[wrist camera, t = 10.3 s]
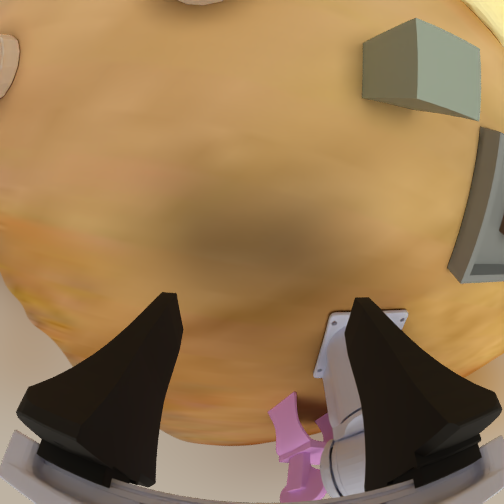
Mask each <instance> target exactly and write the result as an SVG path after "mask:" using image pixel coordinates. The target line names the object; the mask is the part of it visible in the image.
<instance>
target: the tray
mask: <svg viewBox="0 0 504 504" xmlns="http://www.w3.org/2000/svg"><path fill="white" fill-rule="evenodd" d="M503 215H504V134H503V133H501V132H498V131H495V130H491V129H487V128H484V127H480V136H479V144H478V151H477V158H476V164H475V170H474V175H473V180H472V185H471V190H470V194H469V198H468V202H467V206H466V210H465V214H464V218H463V221H462V225H461V228H460V232H459V235H458V238H457V241H456V244H455V247H454V250H453V253H452V256H451V259H450V261H449V264H448V267H447V268H448V269H449V270H450V272H451V273H452V274H453V275H454V276H455V277H456V279H457V280H458V281H459V282H460V283H481V282H498V281H504V235H503V234H502V233H501V232H500V231H499V228H500V225H501V222H502V218H503Z"/></svg>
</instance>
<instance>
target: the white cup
mask: <svg viewBox="0 0 504 504" xmlns="http://www.w3.org/2000/svg"><path fill="white" fill-rule="evenodd" d="M19 54H20V50H19V44H18V40H17V39H16V38H15V37H13V36H12V35H5V34H0V98H1V97H2V96H4V95H5V93H6V92H7V90H8V88H9V87H10V85H11V83H12V82H13V79H14V76H15V73H16V70H17V67H18V61H19Z"/></svg>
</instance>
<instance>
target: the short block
mask: <svg viewBox="0 0 504 504" xmlns="http://www.w3.org/2000/svg"><path fill="white" fill-rule="evenodd" d="M499 231H500V232H501V233H502V234H503V235H504V215H503V218H502V222H501V225H500V228H499Z"/></svg>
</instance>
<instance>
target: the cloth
mask: <svg viewBox="0 0 504 504" xmlns="http://www.w3.org/2000/svg"><path fill="white" fill-rule="evenodd" d="M461 1H462V2H464V3H465V4H466V5H467V6H468V7H469V8H470V9H471V10H472V11H473V12H474V13H475V14H476V15H477V17H478V18H479V19H480V20H481V21H482V22H483V23H484V24H485V25H486V26H487V27H488V28H489V29H490V30H491V32H492V33H493V34H494V36H495V37H496V38H497V39H498V41H499V42H500V43H501V45H502V46H503V47H504V0H461Z"/></svg>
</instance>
